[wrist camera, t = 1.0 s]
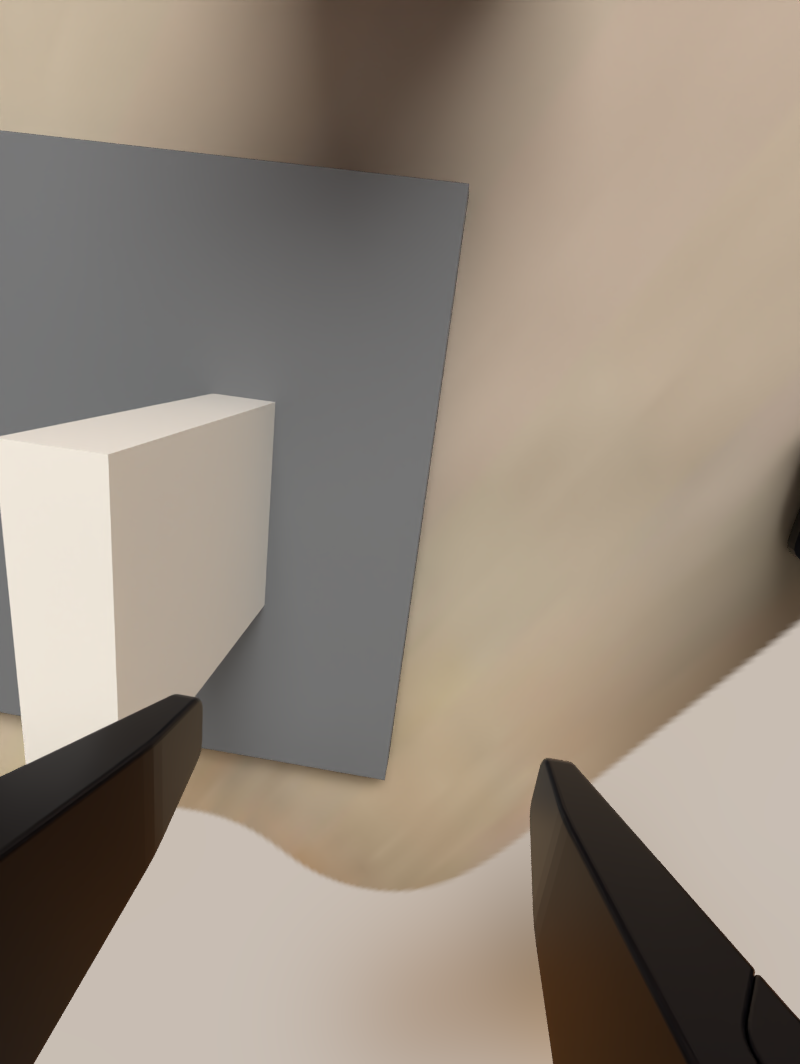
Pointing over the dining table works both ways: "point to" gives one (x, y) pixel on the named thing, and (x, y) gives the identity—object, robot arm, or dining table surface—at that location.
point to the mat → (251, 390)
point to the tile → (132, 556)
